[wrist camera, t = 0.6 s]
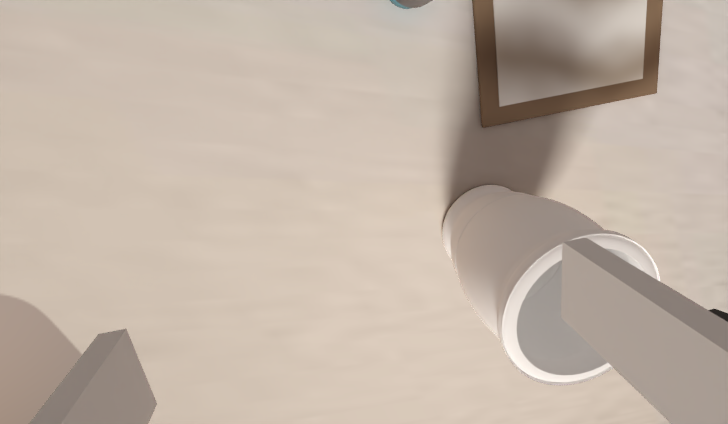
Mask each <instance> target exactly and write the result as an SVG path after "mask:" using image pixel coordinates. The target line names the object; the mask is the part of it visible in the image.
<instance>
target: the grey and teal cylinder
mask: <svg viewBox="0 0 728 424" xmlns="http://www.w3.org/2000/svg"><path fill="white" fill-rule="evenodd" d="M390 1H391V2H392V3H393V4H394V5H396V6H398V7H400V8H404V9H410V8H417V7H421V6H423V5H425V4H427V3H429V2H430V1H432V0H390Z"/></svg>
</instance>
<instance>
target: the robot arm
mask: <svg viewBox="0 0 728 424" xmlns="http://www.w3.org/2000/svg"><path fill="white" fill-rule="evenodd" d="M561 318H562V319H563V320H564V321H565V322H566V323H567V324H568V325H570V326H571V327H572V328H573V329H574V330H575V331H576V332H577V333H578V334H579V335H580V336H581V337H582V338H583V339H584V340H585V341H586V342H587V343H588V344H589V345H590V346H591V347H592V348H593V349H594V350H595V351H596V352H597V353H599V354H600V355H601V356H602V357H603V358H604V359H605V360H606V361H607V362H608V363H609V364H610V365H611V366H612V367H613V368H614V369H615V370H616V371H617V372H618V373H619V374H620V375H621V376H622V377H623V378H624V379H625V380H626V381H628V382H629V383H630V384H631V385H632V386H633V387H634V388H635V389H636V390H637V391H638V392H639V393H640V394H641V395H642V396H643V397H644V398H645V399H646V400H647V401H648V402H649V403H650V404H651V405H652V406H653V407H654V408H655V409H657V410H658V411H659V412H660V413H661V414H662V415H663V416H664V417H665V418H666V419H667V420H668V421H669V422H670V423H671V424H728V313H725V312H722V311H719V310H717V309H712V310H707V309H705V308H703V307H702V306H700V305H698V304H697V303H695V302H693V301H692V300H690V299H688V298H687V297H685V296H683V295H682V294H680V293H678V292H677V291H675V290H673V289H672V288H670V287H668V286H667V285H665V284H663V283H662V282H660V281H658V280H656V279H655V278H653V277H651V276H650V275H648V274H646V273H645V272H643V271H641V270H640V269H638V268H636V267H635V266H633V265H631V264H630V263H628V262H626V261H625V260H623V259H621V258H620V257H618V256H616V255H615V254H613V253H611V252H610V251H608V250H606V249H604V248H603V247H601V246H599V245H598V244H596V243H594V242H593V241H591V240H589V239H588V238H586V237H585V238H580V239H575V240H570V241H565V242H562V287H561ZM156 405H157V403H156V400H155V398H154V395H153V393H152V390H151V388H150V385H149V383H148V381H147V378H146V376H145V373H144V371H143V368H142V366H141V364H140V361H139V359H138V356H137V354H136V351H135V349H134V346H133V344H132V342H131V339H130V337H129V334H128V332H127V329H123V330H118V331H113V332H108V333H102V334H98V335H97V337H96V338H95V339H94V341H93V342H92V343H91V344H90V346H89V347H88V348H87V350H86V351H85V352H84V353H83V355H82V356H81V357H80V359H79V360H78V361H77V363H76V364H75V365H74V366H73V368H72V369H71V370H70V372H69V373H68V374H67V375H66V377H65V378H64V379H63V381H62V382H61V383H60V384H59V386H58V387H57V388H56V390H55V391H54V392H53V393H52V395H51V396H50V397H49V399H48V400H47V401H46V402H45V404H44V405H43V406H42V408H41V409H40V410H39V411H38V413H37V414H36V415H35V417H34V418H33V419H32V420H31V422H30V423H29V424H148V423H149V421H150V418H151V416H152V414H153V412H154V409H155V407H156Z"/></svg>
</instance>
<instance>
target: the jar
mask: <svg viewBox="0 0 728 424" xmlns="http://www.w3.org/2000/svg"><path fill="white" fill-rule="evenodd" d="M585 237H586V238H588V239H589V240H591V241H593V242H594V243H596V244H598V245H599V246H601V247H603V248H604V249H606V250H608V251H610V252H611V253H613V254H615V255H616V256H618V257H620V258H621V259H623V260H625V261H626V262H628V263H630V264H631V265H633V266H635V267H636V268H638V269H640V270H641V271H643V272H645V273H646V274H648V275H650V276H651V277H653V278H655V279H656V280H658V281H660V276H659V272H658V269H657V266H656V264H655V262H654V260H653V259H652V257H651V256H650V254H649V253H648V252H647V251H646V250H645V249H644V248H643V247H642V246H640V245H639V244H638V243H636V242H635V241H633V240H632V239H630V238H629V237H627V236H625V235H622V234H620V233H617V232H614V231H610V230H604V229H603V228H602V227H601V226H599V225H598V224H597V223H596V222H594V221H593V220H591V219H590V218H589V217H587V216H586V215H584V214H582V213H581V212H579V211H577V210H575V209H573V208H571V207H569V206H567V205H565V204H563V203H560V202H557V201H554V200H551V199H548V198H544V197H539V196H533V195H530V194H526V193H521V192H513V191H512V190H510V189H508V188H506V187H503V186H499V185H483V186H479V187H476V188H473V189H471V190H469V191H467V192H466V193H464V194H463V195H462V196H460V197H459V198H458V199H457V200H456V201H455V202H454V203H453V205H452V206H451V207H450V209H449V211H448V212H447V214H446V217H445V220H444V223H443V228H442V240H443V244H444V248H445V250H446V252H447V254H448V255H449V257H450V258H451V259H452V262H453V266H454V269H455V271H456V274H457V276H458V278H459V281H460V284H461V287H462V289H463V291H464V294H465V296H466V298H467V300H468V301H469V303H470V305H471V306H472V308H473V310H474V311H475V312H476V314H477V315H478V316H479V318H480V319H481V320H482V321H483V323H484V324H485V325H486V326H487V327H488V328H489V329H490V330H491V331H492V332H493V333H494V334H495V335H496V336H497V337H498V338H499V340H500V343H501V345H502V348H503V350H504V352H505V353H506V355H507V356H508V358H509V359H510V361H511V362H512V364H513V365H514V366H515V367H516V368H517V369H518V370H519V371H520V372H521V373H522V374H524V375H525V376H527V377H528V378H530V379H532V380H534V381H537V382H540V383H544V384H549V385H572V384H577V383H582V382H585V381H588V380H591V379H594V378H596V377H598V376H601V375H603V374H605V373H606V372H608V371H610V370H611V369H613V367H612V366H611V365H610V364H609V363H608V362H607V361H606V360H605V359H604V358H603V357H602V356H601V355H600V354H599V353H597V352H596V351H595V350H594V349H593V348H592V347H591V346H590V345H589V344H588V343H587V342H586V341H585V340H584V339H583V338H582V337H581V336H580V335H579V334H578V333H577V332H576V331H575V330H574V329H573V328H572V327H571V326H570V325H568V324H567V323H566V322H565V321H564V320H563V319H562V318H561V287H562V242H565V241H570V240H575V239H580V238H585ZM660 282H661V281H660Z"/></svg>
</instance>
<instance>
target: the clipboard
mask: <svg viewBox="0 0 728 424" xmlns="http://www.w3.org/2000/svg"><path fill="white" fill-rule="evenodd" d="M472 3H473V16H474V29H475V43H476V56H477V69H478V83H479V96H480V109H481V123H482V127H483V128H484V127H489V126H494V125H499V124H504V123H509V122H514V121H519V120H524V119H529V118H534V117H539V116H545V115H550V114H555V113H560V112H565V111H570V110H575V109H580V108H585V107H590V106H595V105H600V104H605V103H610V102H615V101H620V100H625V99H630V98H635V97H640V96H645V95H650V94H655V93H657V81H658V66H659V51H660V36H661V21H662V6H663V0H472Z"/></svg>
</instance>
